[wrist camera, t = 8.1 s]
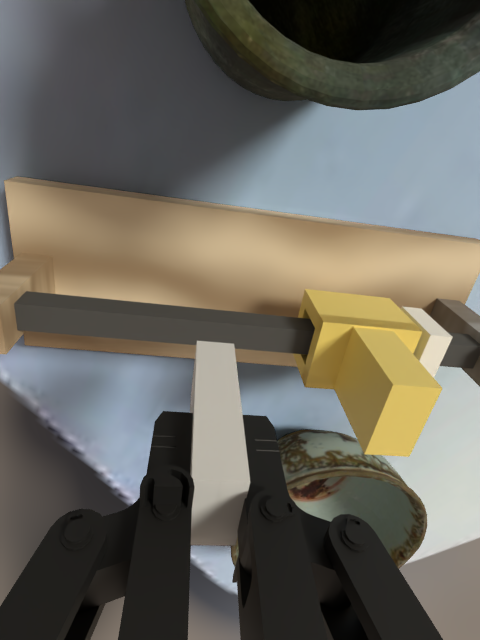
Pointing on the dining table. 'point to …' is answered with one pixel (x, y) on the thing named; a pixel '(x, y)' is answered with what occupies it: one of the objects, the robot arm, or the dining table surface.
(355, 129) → the dining table surface
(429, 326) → the band
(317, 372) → the sleeve
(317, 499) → the bowl
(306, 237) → the wooden slider rail
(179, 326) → the rod
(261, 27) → the mug
